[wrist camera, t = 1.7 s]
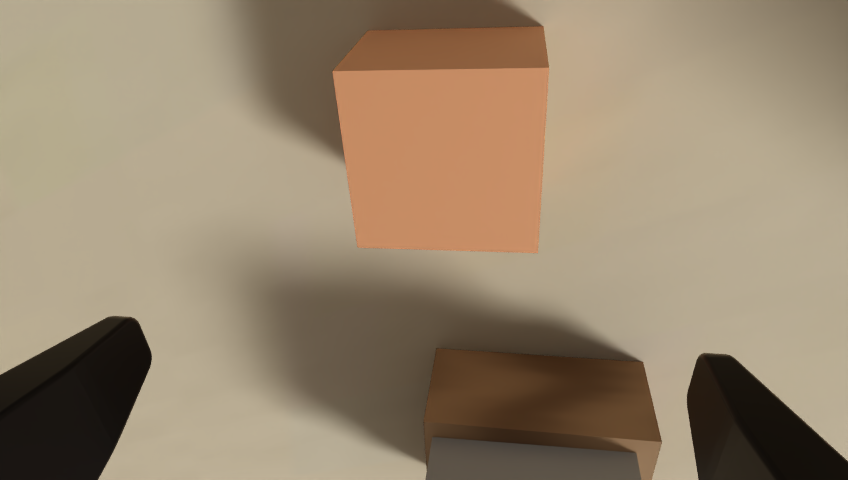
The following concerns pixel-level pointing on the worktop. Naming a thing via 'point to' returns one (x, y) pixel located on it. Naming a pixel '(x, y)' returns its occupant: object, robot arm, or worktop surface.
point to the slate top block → (525, 462)
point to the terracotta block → (445, 137)
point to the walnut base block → (543, 403)
